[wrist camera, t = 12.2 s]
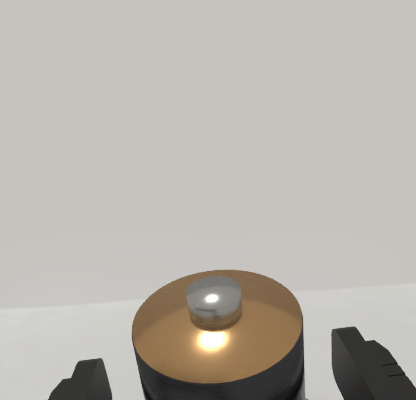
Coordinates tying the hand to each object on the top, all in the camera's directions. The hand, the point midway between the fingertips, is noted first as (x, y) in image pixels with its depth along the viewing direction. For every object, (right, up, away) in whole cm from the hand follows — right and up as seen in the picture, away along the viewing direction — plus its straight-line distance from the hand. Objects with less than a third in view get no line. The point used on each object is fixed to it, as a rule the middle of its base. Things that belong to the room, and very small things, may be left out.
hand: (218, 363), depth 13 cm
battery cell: (+1, -8, +1) cm, 8 cm away
